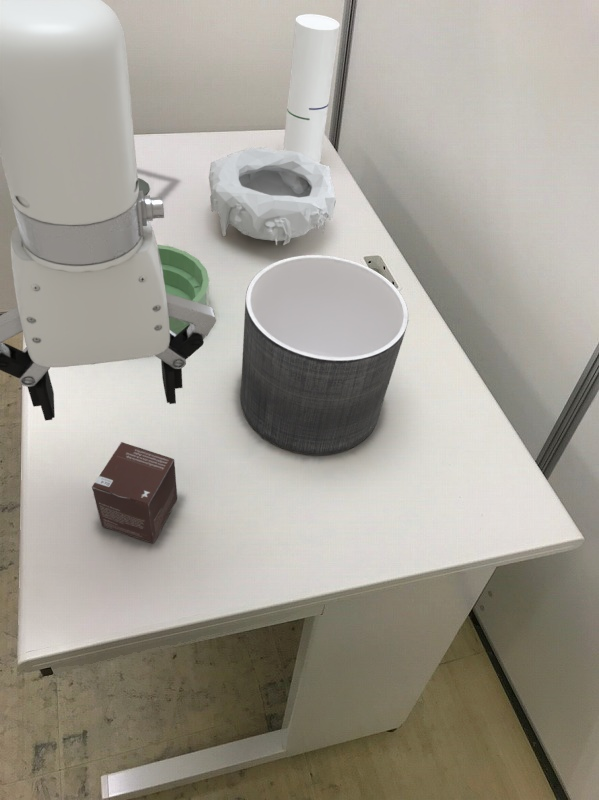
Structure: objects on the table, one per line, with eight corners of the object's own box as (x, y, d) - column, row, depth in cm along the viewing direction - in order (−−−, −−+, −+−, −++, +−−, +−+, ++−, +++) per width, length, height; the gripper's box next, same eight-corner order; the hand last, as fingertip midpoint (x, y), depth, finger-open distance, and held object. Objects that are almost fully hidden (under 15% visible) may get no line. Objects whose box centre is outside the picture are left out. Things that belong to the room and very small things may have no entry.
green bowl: (94, 357, 82) (88, 321, 78) (91, 282, 92) (85, 246, 88) (216, 347, 86) (216, 312, 81) (200, 275, 96) (199, 241, 91)
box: (179, 499, 69) (176, 458, 64) (153, 546, 65) (148, 506, 60) (127, 481, 70) (121, 440, 65) (99, 526, 66) (90, 486, 61)
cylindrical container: (323, 176, 120) (345, 30, 101) (286, 178, 118) (302, 29, 100) (313, 157, 124) (332, 14, 106) (277, 158, 122) (290, 13, 104)
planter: (230, 446, 75) (234, 348, 63) (249, 344, 87) (255, 245, 75) (380, 465, 75) (412, 371, 64) (378, 360, 87) (405, 265, 76)
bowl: (238, 182, 115) (240, 127, 108) (345, 213, 112) (355, 159, 104) (185, 240, 101) (183, 181, 94) (305, 278, 98) (314, 221, 91)
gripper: (205, 182, 45) (206, 356, 58) (-65, 194, 41) (0, 380, 53) (226, 243, 41) (222, 418, 53) (-76, 264, 36) (-3, 450, 49)
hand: (110, 399), depth 53 cm, fingers open, 9 cm apart
